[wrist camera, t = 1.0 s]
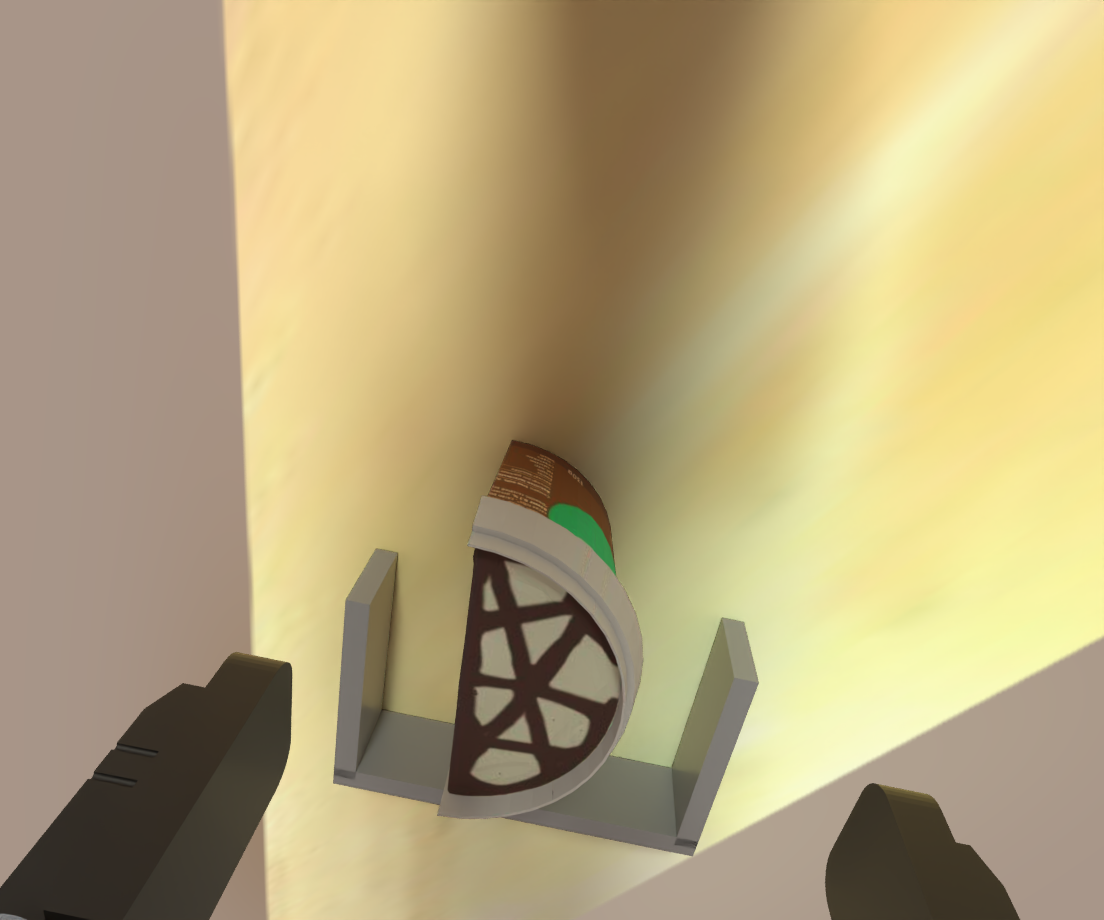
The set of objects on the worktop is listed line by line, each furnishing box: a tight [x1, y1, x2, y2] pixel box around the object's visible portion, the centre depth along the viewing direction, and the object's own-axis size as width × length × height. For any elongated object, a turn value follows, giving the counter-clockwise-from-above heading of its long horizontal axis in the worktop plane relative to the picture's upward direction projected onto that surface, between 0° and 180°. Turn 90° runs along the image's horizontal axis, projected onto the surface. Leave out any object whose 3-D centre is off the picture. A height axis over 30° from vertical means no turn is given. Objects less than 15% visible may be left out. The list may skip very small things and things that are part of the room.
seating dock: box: [333, 549, 759, 856], centre depth 34 cm, size 10×17×4 cm, turn 80°
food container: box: [437, 440, 643, 819], centre depth 28 cm, size 12×6×10 cm, turn 172°
